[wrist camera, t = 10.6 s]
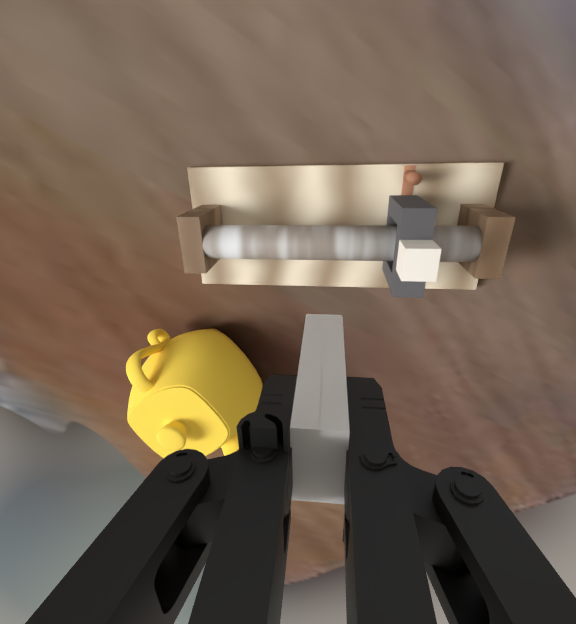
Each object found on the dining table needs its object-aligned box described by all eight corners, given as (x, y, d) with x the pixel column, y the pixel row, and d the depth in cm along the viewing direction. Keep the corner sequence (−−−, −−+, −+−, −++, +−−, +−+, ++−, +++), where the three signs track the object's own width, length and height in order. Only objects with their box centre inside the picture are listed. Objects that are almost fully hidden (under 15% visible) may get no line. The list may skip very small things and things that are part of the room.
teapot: (207, 287, 41) (159, 343, 30) (304, 406, 47) (294, 491, 35) (128, 340, 46) (60, 407, 34) (225, 443, 51) (194, 529, 40)
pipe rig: (205, 280, 41) (179, 308, 34) (191, 167, 35) (157, 173, 29) (472, 286, 37) (503, 317, 31) (499, 162, 32) (543, 167, 25)
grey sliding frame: (382, 269, 35) (397, 310, 27) (389, 195, 32) (409, 214, 24) (407, 269, 35) (431, 311, 26) (416, 195, 32) (447, 214, 23)
